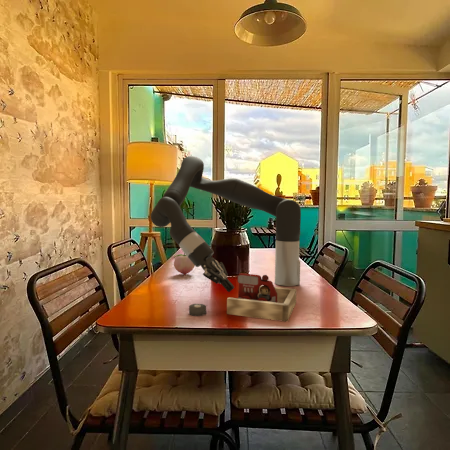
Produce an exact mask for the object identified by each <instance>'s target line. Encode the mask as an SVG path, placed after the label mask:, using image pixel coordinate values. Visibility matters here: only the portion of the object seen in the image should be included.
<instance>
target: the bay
mask: <svg viewBox="0 0 450 450" xmlns="http://www.w3.org/2000/svg"><path fill="white" fill-rule="evenodd" d="M274 287H275V290H276V292H277V303H276V302H267V301H258V300H249V299H239V298H238V297H227V299H226V315H232V316H239V317H241V316H242V317H249V318H257V319H262V320H263V319H264V320H270V319H271V320H272V321H278V320H282V321H281V322H286V321H288V322H289V320H290V318H291V316H290V315H292V313H293V311H294V309H295V307H296V303H297V288H289V287H280V286H278V287H276V286H274ZM260 288H261V286H260V287H259V294H261V293H260ZM259 294H258V298H259ZM269 295H270V291H269ZM293 308H294V309H293ZM289 317H290V318H289ZM288 319H289V320H288Z"/></svg>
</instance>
